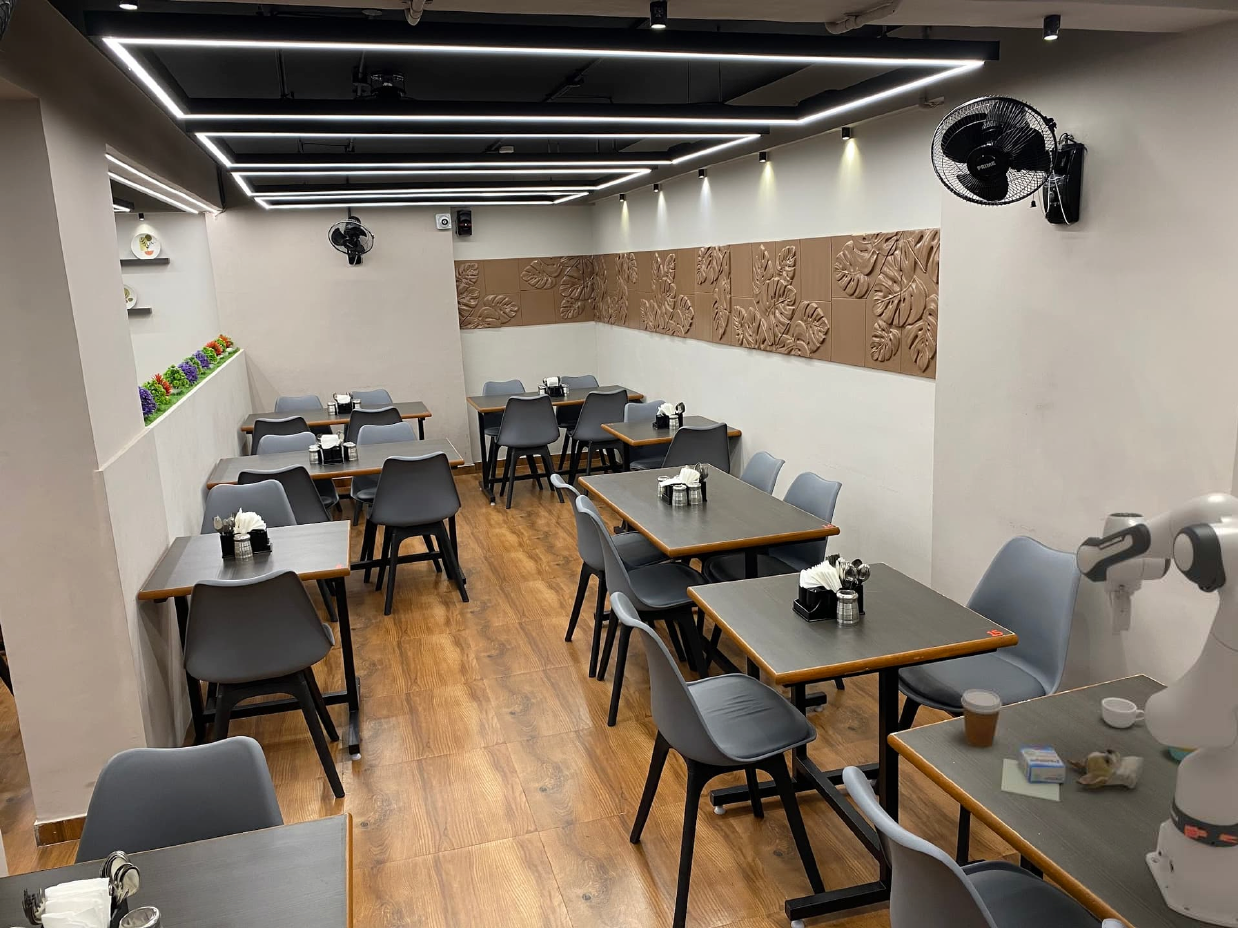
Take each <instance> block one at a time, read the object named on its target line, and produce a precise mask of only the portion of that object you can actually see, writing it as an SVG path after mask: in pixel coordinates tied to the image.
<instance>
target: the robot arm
mask: <svg viewBox="0 0 1238 928" xmlns="http://www.w3.org/2000/svg"><path fill="white" fill-rule="evenodd" d="M1172 560H1173V561H1174V564H1175V567H1176V568H1177V570H1179V572H1180V573H1181V574H1182V575H1184V577H1185V578H1186V579H1187V580H1189V581H1190V582H1192V583H1193V584H1196V585H1197V587H1198V589H1199V590H1200V591H1202V592H1204V593H1208V594H1211V593H1213V592H1215V591H1216V592H1217V594H1218V599H1219V604H1218V608H1217V609H1216V610H1217V611H1216V613H1215V616H1214V618H1213V621H1212V623H1211V626H1210V629H1209V632H1208V635H1207V638H1206V641H1205V643H1204V645H1203V648H1202V650H1201V652H1200V655H1199V657H1198V658H1197V659H1196V660H1195V661H1196V662H1194V664H1192V666H1190V668H1189V669H1188V670H1187V671H1186V672H1185V673H1184V674H1183V675H1181V677H1180V678H1179V679H1177V680H1176V681H1175V682H1174V683H1172V684H1171V685H1169V686H1168V687H1166V688H1164V689H1162V690H1160V691H1158V692H1156V693H1154V694H1151V695H1150V697H1149V698H1148V699H1147V701H1146V704H1145V707H1144V714H1143V716H1144V717H1145V718H1144V721H1145V724H1146V727H1147V729H1148V731H1149V733H1150V734H1151V735H1152V736H1153V738H1154V739H1155V740H1156V741H1157V742H1159V743H1160V744H1161V745H1165V746H1168V745H1169V746H1175V747H1181V748H1188V749H1198V750H1196V751H1195V752H1193V753H1191V754H1189V755H1188V756H1186V757H1185V758H1184V759H1183V760H1182V761H1180V763H1179V765H1178V768H1177V775H1176V784H1175V795H1174V796H1173V797H1172V799H1171V800H1172V801H1171V803H1170V817H1169V818H1168V819H1167V820H1165V821H1164V822H1162V823H1160V826H1159V833H1158V838H1157V846H1156V850H1155V851H1152V852H1149V853H1147V854H1146V855H1145V861H1146V863H1147V866H1148V867H1149V870H1150V872H1151V874H1152V876H1153V878H1154V880H1155V883H1156V884H1157V886H1158V888H1159V890H1160V892H1161V895H1162V896H1163V898H1164V899H1163V900H1164V901H1165V903H1166V905H1167V906H1168V908H1169V909H1171V910H1173V911H1175V912H1177V913H1179V914H1181V915H1184V916H1186V917H1189V918H1192V919H1195V920H1198V921H1201V922H1204V923H1208V924H1211V925H1213V924H1214V925H1218V926H1222V927H1228V928H1238V497H1236V496H1234V495H1232V494H1230V493H1226V492H1211V493H1206V494H1201V495H1198V496H1195V497H1193V498H1191V499H1188V500H1186V501H1184V502H1182V503H1180V504H1179V505H1177V506H1175V507H1173V508H1172V509H1169V510H1166V511H1165V512H1162V513H1161V514H1159V515H1157V516H1154V517H1151V518H1149V519H1147V520H1146V517H1145V516H1144V515H1141V514H1140V513H1134V512H1114V513H1111V514H1109V515H1107V517H1106V520H1105V522H1104V527H1103V531H1102V537H1096V536H1095V537H1093V536H1092V537H1091V536H1089V537H1087V538H1086V539H1085V540H1084V541H1083V542H1082V543H1081V544H1080V545H1079V547H1078V549H1077V550H1076V560H1075V561H1076V566H1077V568H1078V570H1079V572H1080V573H1081V574H1082V575H1083V576H1084V577H1086V578H1087V579H1088V580H1090V581H1091V582H1093V583H1098V585H1099V586H1101V587H1102V588H1103V591H1104V593H1105V595H1104V596H1105V600H1106V603H1107V604H1106V605H1107V610H1108V616H1109V621H1110V631H1111V635H1112V636H1115V637H1116V636H1117V637H1120V635H1121V632H1128V631H1130V626H1131V617H1132V616H1131V615H1132V600H1131V599H1132V598H1131V597H1132V596H1134V595H1135V593H1136V592H1138V591H1140V590H1141V589H1142V585H1143V584H1142V583H1143V581H1155V580H1160V579H1162V578H1164V577H1165V576H1166V575H1167V573H1168V572H1169V570H1170V569H1171V562H1172ZM1169 746H1168V747H1169Z"/></svg>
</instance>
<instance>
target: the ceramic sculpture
mask: <svg viewBox="0 0 1238 928" xmlns="http://www.w3.org/2000/svg"><path fill="white" fill-rule="evenodd" d="M1066 762H1067V763H1068V764H1070V765H1071V766H1072V767H1074V768H1076V769H1078V770H1080V771H1083V772H1085V773H1086V774H1084V775H1083V776H1082V777H1080V779H1078V780H1076V781H1075V784H1076V785H1079V786H1082V787H1086V788H1090V789H1097V788H1099V787H1102V786H1112V785H1113V786H1114V785H1124V786H1126V787H1127V788H1128V789H1134V788H1135V786H1136V784H1137V782H1138V780H1139V778H1140V777H1141V775H1142V771H1143V764H1144V757H1143V756H1132V755H1131V756H1125V757H1122V756H1121V755H1120V754H1119V752H1117V751H1115V750H1113V749H1106V751H1093V752H1091V753H1090V754H1088V755H1087V756H1086V757H1084V758H1081V759H1077V760H1071V759H1066Z"/></svg>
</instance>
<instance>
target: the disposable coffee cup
mask: <svg viewBox="0 0 1238 928" xmlns="http://www.w3.org/2000/svg"><path fill="white" fill-rule="evenodd" d="M960 702H961V704H962V709H963V719H964V731H965V740H966V741H967V743H968V744H970V745H971V746H974V747H979V748H988V747H991V746H992V745H993V744H994V739H995V733H996V729H997V724H998V719H999V713H1000V711H1001V708H1002V707H1003V704H1002V703H1003V702H1002V701H1001V698H1000V697H999V695H998V694H996V693H994V692H992V691H989V690H986V689H985V690H984V689H977V688H975V689H969V690H967V691H964V693H963V695H962V697H961V699H960Z"/></svg>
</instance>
